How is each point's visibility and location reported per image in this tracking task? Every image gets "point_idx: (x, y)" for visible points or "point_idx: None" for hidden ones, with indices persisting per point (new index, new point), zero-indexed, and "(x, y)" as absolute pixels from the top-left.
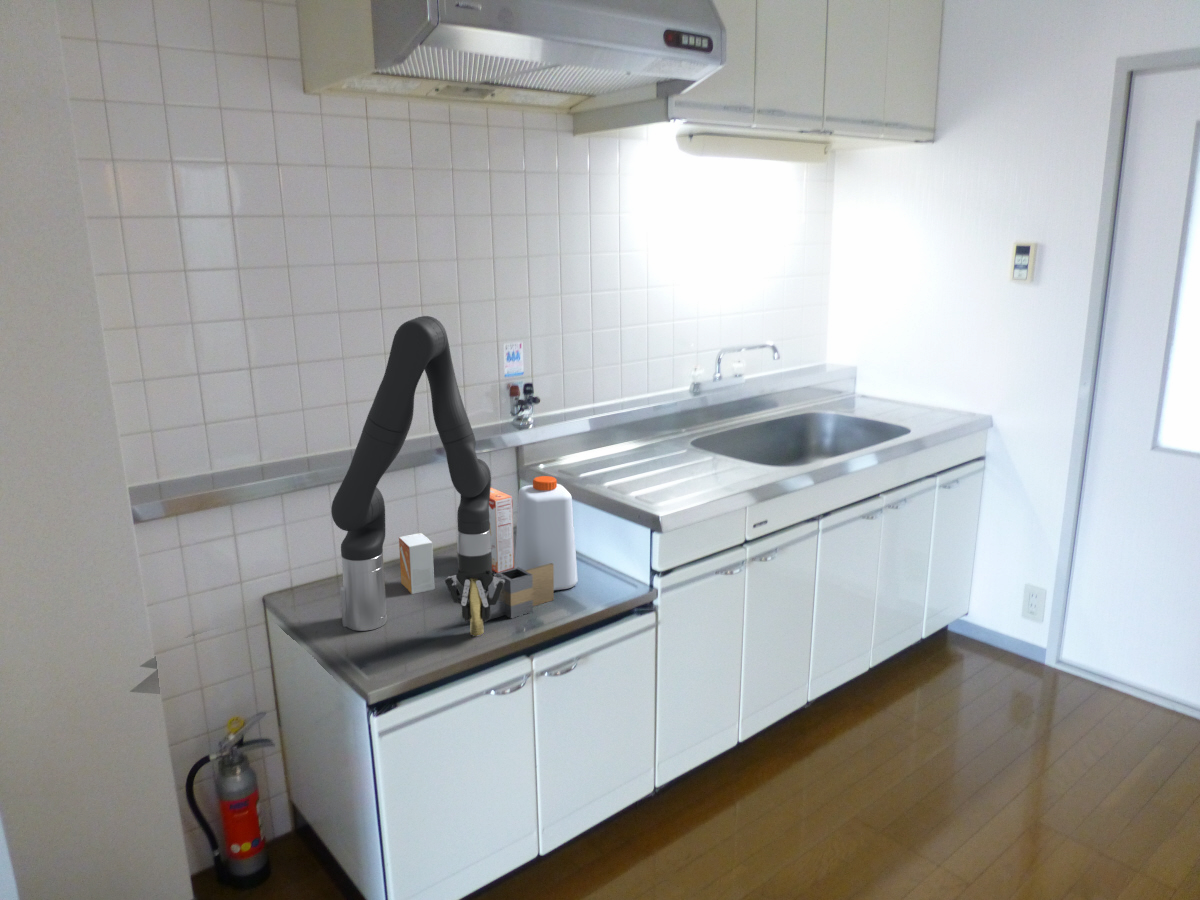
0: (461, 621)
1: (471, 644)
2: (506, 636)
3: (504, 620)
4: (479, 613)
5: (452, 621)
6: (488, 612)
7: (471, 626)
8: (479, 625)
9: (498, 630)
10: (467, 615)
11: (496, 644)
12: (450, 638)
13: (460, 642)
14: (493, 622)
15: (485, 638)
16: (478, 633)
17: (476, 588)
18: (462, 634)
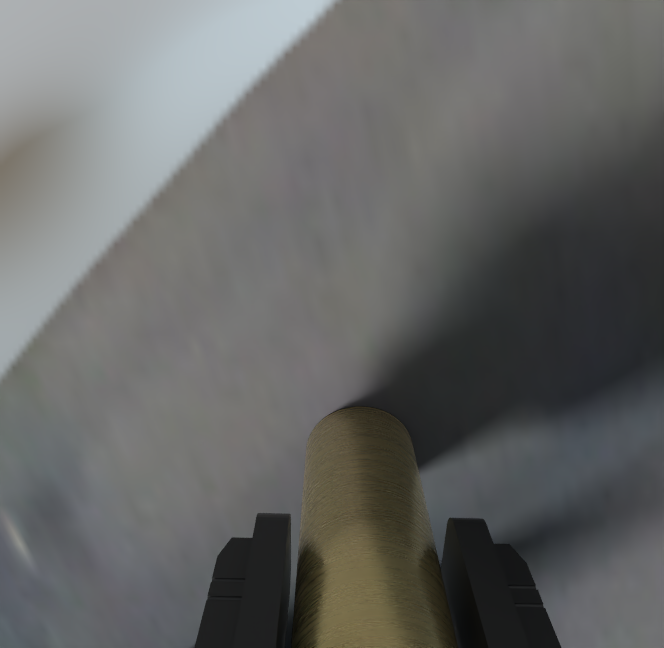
0: None
1: (364, 272)
2: (110, 433)
3: None
4: (319, 588)
5: (580, 597)
6: (208, 610)
7: (404, 469)
8: (325, 478)
9: (206, 512)
10: (466, 562)
11: (142, 295)
12: (569, 358)
13: (470, 298)
14: None
15: (270, 386)
16: (336, 426)
17: None
18: (476, 430)
